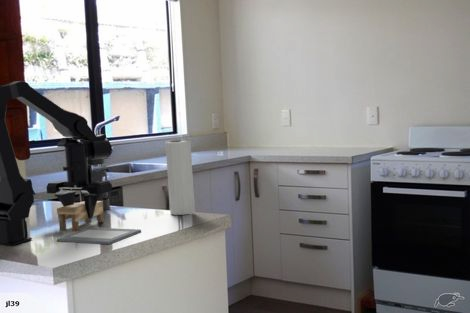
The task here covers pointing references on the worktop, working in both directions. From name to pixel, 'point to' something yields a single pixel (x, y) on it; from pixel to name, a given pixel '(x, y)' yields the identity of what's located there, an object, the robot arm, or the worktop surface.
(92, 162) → the french press
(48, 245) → the worktop surface
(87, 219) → the oak stool
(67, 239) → the charcoal mat
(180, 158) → the paper towel roll
